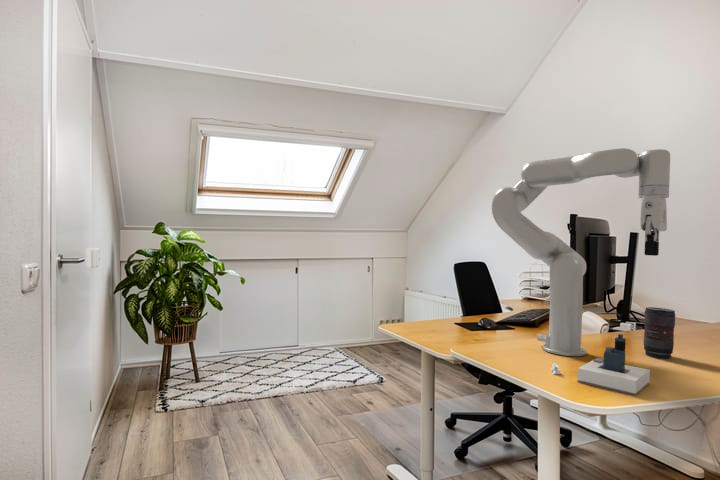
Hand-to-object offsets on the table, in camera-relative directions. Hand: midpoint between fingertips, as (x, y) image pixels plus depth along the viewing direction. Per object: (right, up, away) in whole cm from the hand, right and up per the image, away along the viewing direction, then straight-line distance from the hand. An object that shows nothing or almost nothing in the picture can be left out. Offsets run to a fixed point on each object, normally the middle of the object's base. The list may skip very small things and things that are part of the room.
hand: (651, 255), depth 133 cm
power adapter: (-31, -32, -11) cm, 46 cm away
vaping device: (-21, -32, -17) cm, 42 cm away
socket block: (-21, -32, -17) cm, 42 cm away
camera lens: (+8, -32, +10) cm, 35 cm away
